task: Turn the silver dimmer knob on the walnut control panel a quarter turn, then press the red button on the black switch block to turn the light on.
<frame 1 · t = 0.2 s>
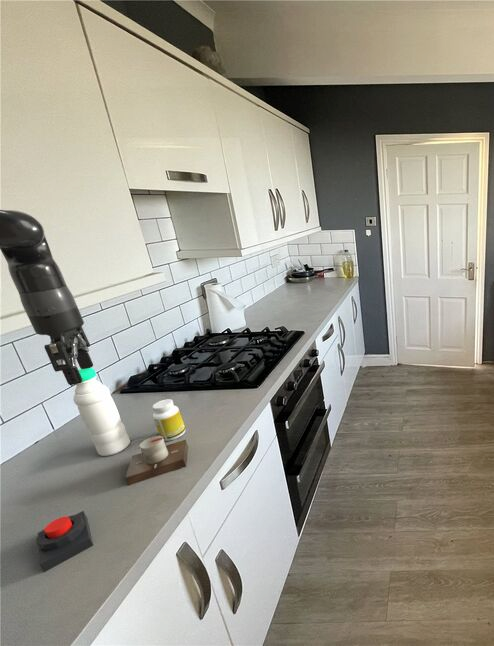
hand: (82, 375, 80), 29 cm above the worktop, tool pointing down, fingers open, 8 cm apart
switch block: (67, 542, 72), on the worktop
pill bottle: (174, 435, 104), on the worktop
dimmer panel: (160, 464, 92), on the worktop
light button: (58, 527, 70), point 4 cm above the worktop, slide at 0.1 cm
dimmer knob: (154, 449, 90), point 5 cm above the worktop, hinge at 0.0°
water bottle: (115, 448, 99), on the worktop
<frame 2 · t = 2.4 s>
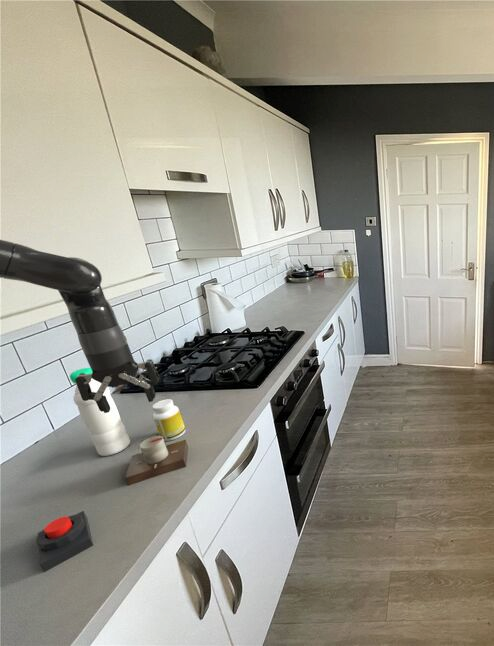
hand: (130, 405, 85), 19 cm above the worktop, tool pointing down, fingers open, 8 cm apart
nothing on the worktop moved.
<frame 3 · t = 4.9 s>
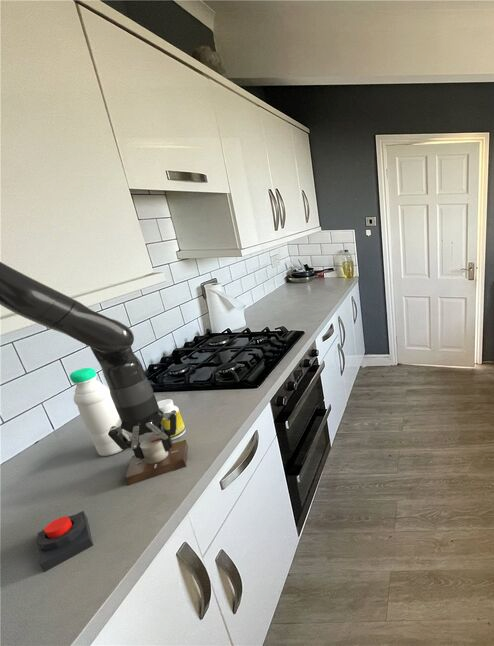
hand: (155, 452, 91), 4 cm above the worktop, tool pointing down, fingers closed on dimmer knob, 5 cm apart
dimmer knob: (154, 449, 90), point 5 cm above the worktop, hinge at 0.1°, touching gripper
everything else where it was.
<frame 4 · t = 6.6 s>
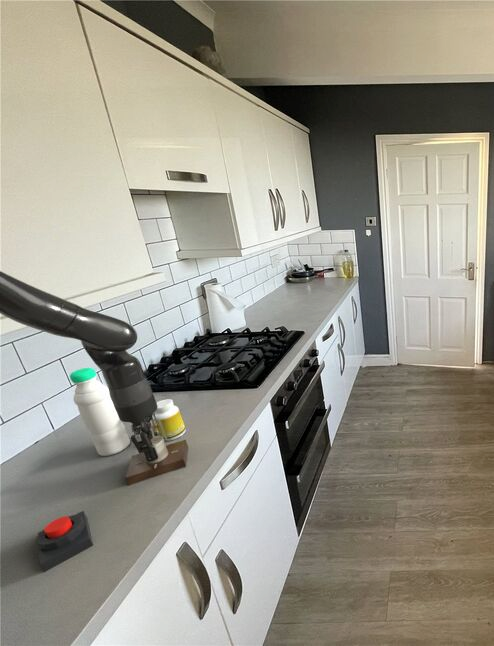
hand: (154, 453, 91), 4 cm above the worktop, tool pointing down, fingers closed on dimmer knob, 5 cm apart
dimmer knob: (154, 449, 90), point 5 cm above the worktop, hinge at 92.5°, touching gripper
everything else where it was.
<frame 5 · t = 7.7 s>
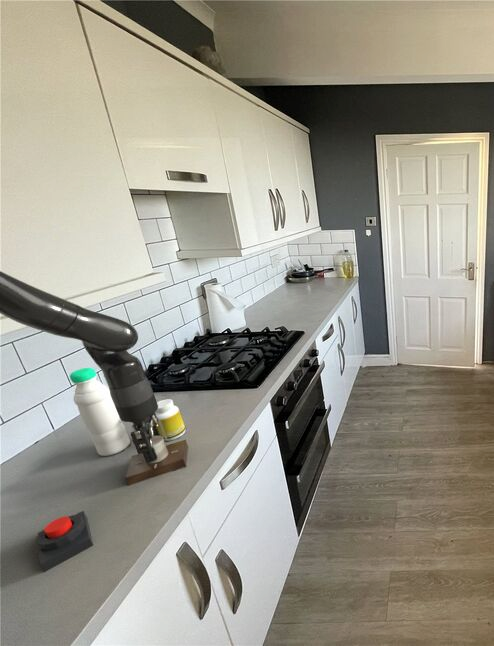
hand: (154, 450, 90), 5 cm above the worktop, tool pointing down, fingers open, 8 cm apart
dimmer knob: (154, 449, 90), point 5 cm above the worktop, hinge at 92.9°
everything else where it was.
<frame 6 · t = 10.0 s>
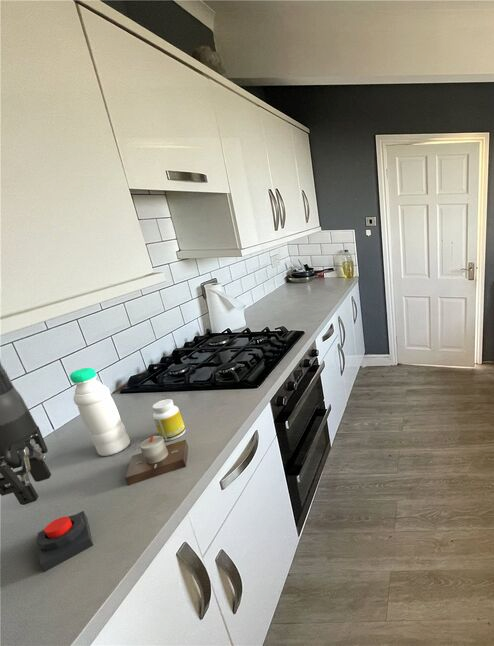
hand: (37, 489, 67), 15 cm above the worktop, tool pointing down, fingers open, 5 cm apart
nothing on the worktop moved.
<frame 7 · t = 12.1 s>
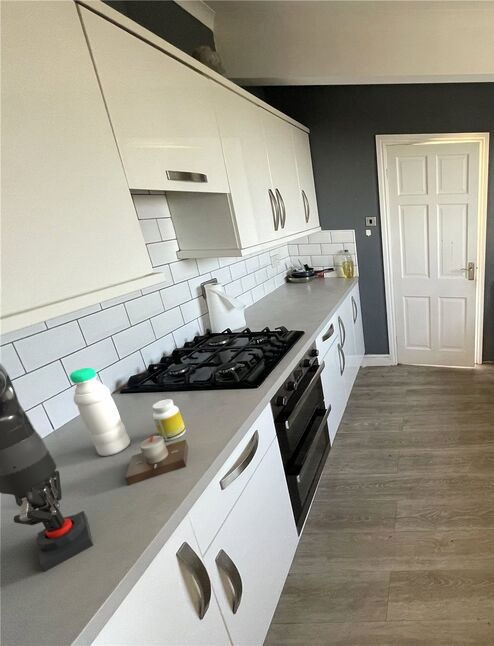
hand: (57, 527, 70), 5 cm above the worktop, tool pointing down, fingers closed
light button: (59, 529, 70), point 4 cm above the worktop, slide at -0.4 cm, touching gripper
everything else where it was.
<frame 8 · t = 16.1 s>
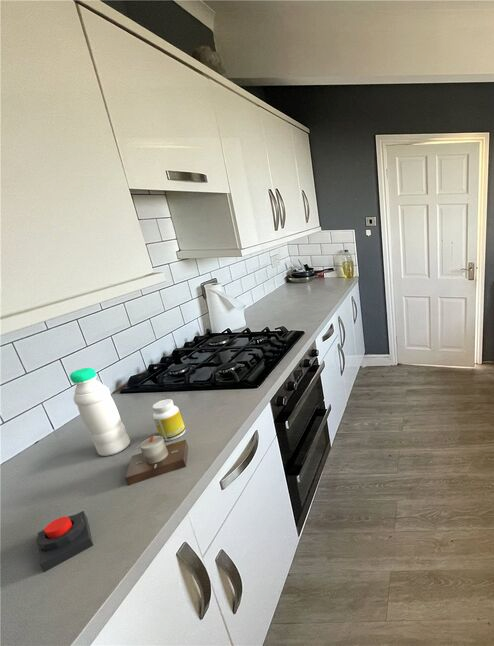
light button: (58, 527, 70), point 4 cm above the worktop, slide at 0.1 cm
everything else where it was.
at the end: dimmer knob at +93° (first picture: +0°); light button pushed in 1.2 cm at the most during the clip, back to where it started at the end; light button slide at 0.1 cm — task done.
